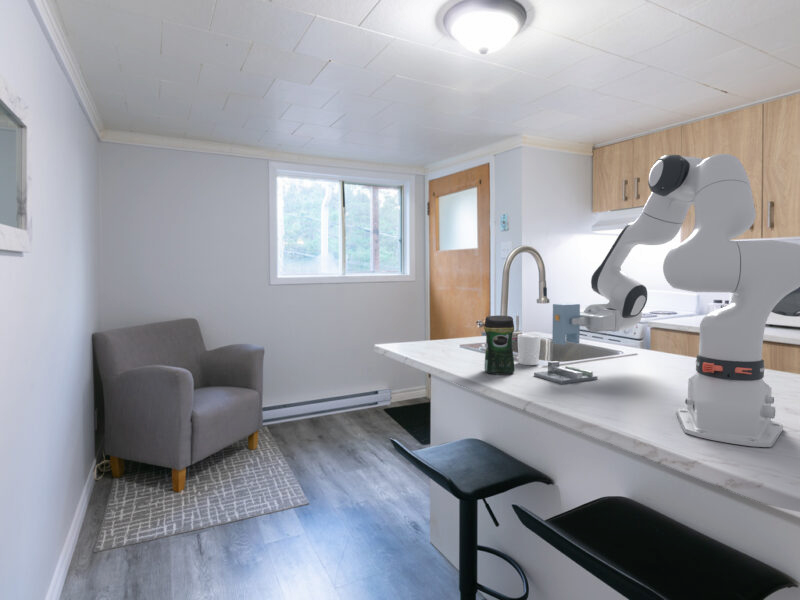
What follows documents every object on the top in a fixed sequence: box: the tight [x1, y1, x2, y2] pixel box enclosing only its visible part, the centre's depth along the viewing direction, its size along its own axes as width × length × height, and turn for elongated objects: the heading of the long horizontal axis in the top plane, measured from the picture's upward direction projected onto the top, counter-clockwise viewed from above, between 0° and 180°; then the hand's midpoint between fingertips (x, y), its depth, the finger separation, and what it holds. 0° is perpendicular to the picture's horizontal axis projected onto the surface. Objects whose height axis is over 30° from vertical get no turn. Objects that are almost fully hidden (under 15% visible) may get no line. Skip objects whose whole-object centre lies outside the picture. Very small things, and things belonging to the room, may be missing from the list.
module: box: [551, 302, 581, 346], centre depth 142 cm, size 4×7×12 cm, turn 114°
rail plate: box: [533, 360, 598, 385], centre depth 143 cm, size 12×14×4 cm
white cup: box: [517, 333, 542, 366], centre depth 165 cm, size 8×8×10 cm
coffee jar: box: [483, 314, 516, 375], centre depth 151 cm, size 10×8×19 cm
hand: (563, 320), depth 142 cm, fingers closed on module, 4 cm apart
